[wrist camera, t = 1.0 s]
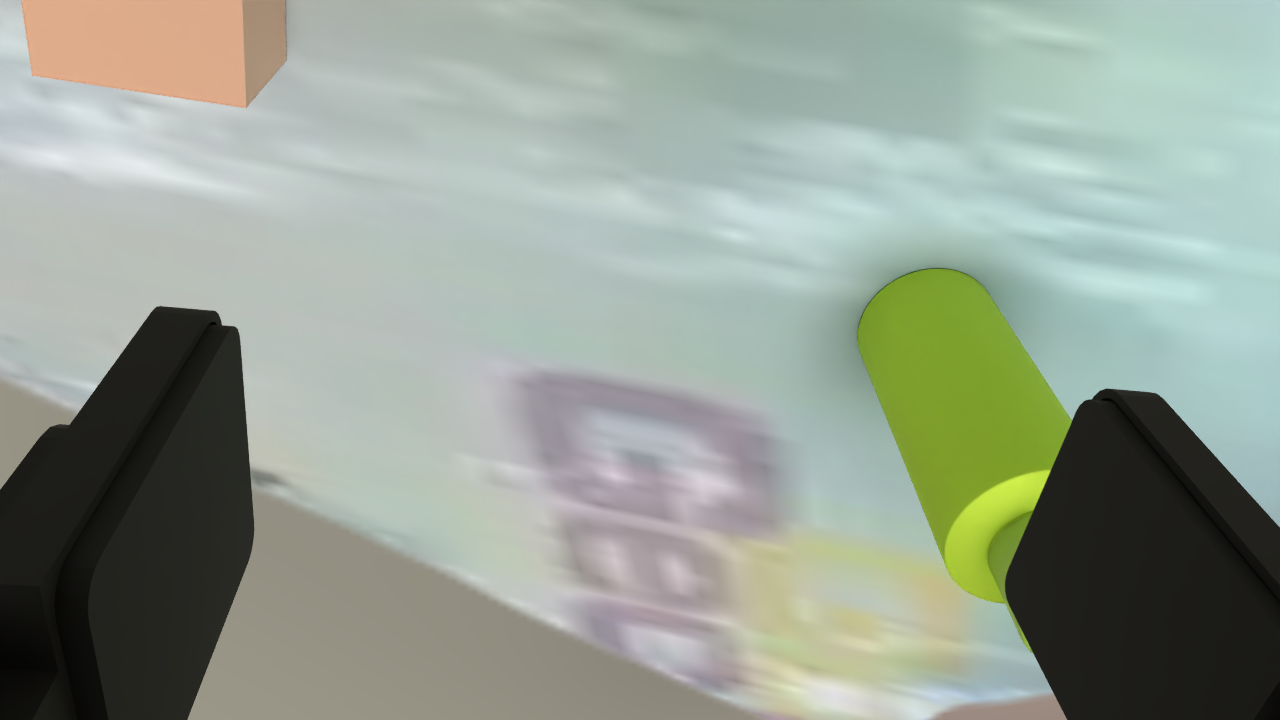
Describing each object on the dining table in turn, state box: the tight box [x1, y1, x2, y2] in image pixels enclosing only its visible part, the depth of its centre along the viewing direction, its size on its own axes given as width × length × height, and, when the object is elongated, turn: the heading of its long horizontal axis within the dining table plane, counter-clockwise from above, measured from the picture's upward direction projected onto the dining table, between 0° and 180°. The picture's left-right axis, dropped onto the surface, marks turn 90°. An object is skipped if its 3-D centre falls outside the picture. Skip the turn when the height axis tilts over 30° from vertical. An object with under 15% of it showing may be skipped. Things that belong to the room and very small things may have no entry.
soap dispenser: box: [858, 269, 1072, 653], centre depth 35 cm, size 6×7×20 cm
